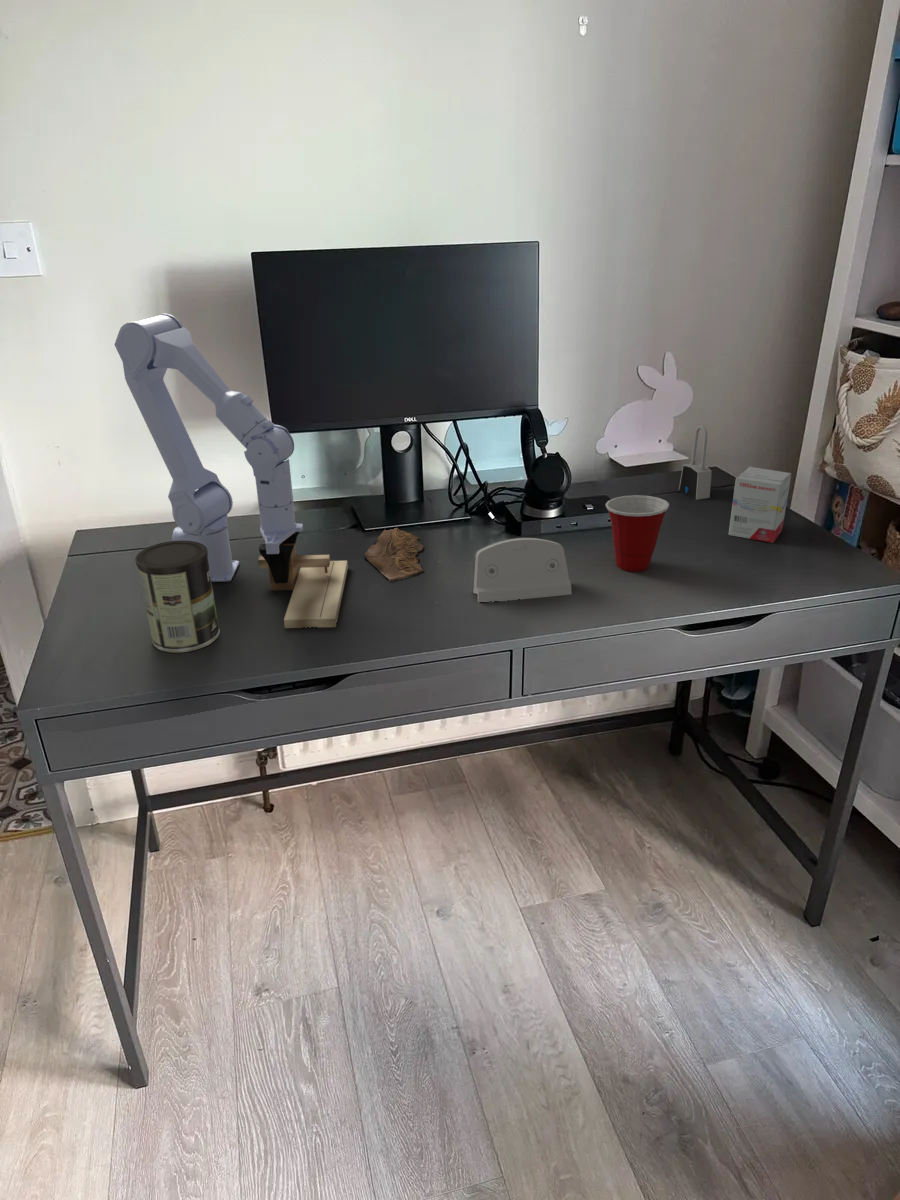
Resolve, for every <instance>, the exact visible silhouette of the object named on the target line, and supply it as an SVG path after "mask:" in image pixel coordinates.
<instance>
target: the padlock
mask: <svg viewBox="0 0 900 1200" xmlns="http://www.w3.org/2000/svg"><path fill="white" fill-rule="evenodd" d="M700 430H702V432H703V442H702V444H703V445H702V452H701V461H700V462H701V463H699V462H696V455H697V444H698V438H699V437H698V436H699V432H700ZM707 443H708V429H706V427H705V426H704V425H698V426H697V427H696V429H695V432H694V438H693V445H692V453H691V454H692V455H691V460H690V463H685V464H683V465H682V469H681V474H680V480H679V486H678V491H680V492H681V493H682V494H683V495H686V496H687V497H690V498H692V499H694V500H696V501H697V500H702V499H703V500H704V499H705V500H706V499H709V498H710V496H711V487H712V486H711V485H712V484H711V483H712V474H713V473H712V472H713V471H712V470H711V468H709V467H708V466H706V465H705V461H706V453H707V445H708V444H707Z"/></svg>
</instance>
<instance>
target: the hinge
mask: <svg viewBox="0 0 900 1200" xmlns="http://www.w3.org/2000/svg"><path fill="white" fill-rule="evenodd" d="M471 593H473V594H475V595H477V597H476V598H477V603H478V602H489V601H492V602H491V603H495V602H494V601H499V602H508V600H509V601H517V600H518V599H520V600H528V599H529V600H530V599H537V598H538V599H539V598H549V597H560V596H568V595H573V594H572V583H571V580H570V576H569V572H568V566H567V560H566V555H565V549H564V547H563V545H562V544H560V543H559V542H555V541H553V540H548V539H543V538H537V537H513V538H507V539H503V540H502V539H501V540H499V541H494V542H492V543H488V544H487V545H485V546H483V547H480V548H478V549H477V550H476V551H475V552H474V554H473V564H472V584H471ZM489 603H490V602H489Z"/></svg>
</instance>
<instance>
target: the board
mask: <svg viewBox="0 0 900 1200" xmlns="http://www.w3.org/2000/svg"><path fill="white" fill-rule="evenodd" d="M327 570H328V573H325V569H324V567H307V568H300V569H299V570H298V578H297V581H296V584H295V587H294V590H292V593H291V596H290V599H289V603H288V605H287V608H286V612H285V615H284V617H283V623H284V628H285V629H300V628H301V629H302V628H303V627H305V628H303V629H307V627H309V628H311V627H314V629H315V627H317V628H336V627H337V624H336V623H337V622H338V619H339V613H340V607H341V604H342V600H343V599H342V598H343V594H344V589H345V584H346V579H347V576H348V575H347V574H348V570H349V566H348V560H330V566H329V567H327ZM309 628H308V629H309Z"/></svg>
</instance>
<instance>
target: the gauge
mask: <svg viewBox="0 0 900 1200" xmlns="http://www.w3.org/2000/svg"><path fill="white" fill-rule="evenodd" d="M284 545H294V548H293V551H292V553H291V557H290V563H289V578H288V582H287V583H275V581H274V579H273V576H272V574H271V571H270V568H269V566H268V564H267V562H266V560H265V559H264V558H263V556H262V555H259V556H258V559H257V563H258V569H268V576H269V583H270V590H271V591H293V590H294V587H295V584H296V581H297V578H298V574H299V568H307V567H324V569H325V573H328V570H327V567H329V566H330V561H331V557H330V556H331V555H330V554H309V555H308V554H306V555H305V554H304V555H302V554H301V555H300V554H299V555H297V551H296V550H297V548H296V544H295V543H293V544H284Z"/></svg>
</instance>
